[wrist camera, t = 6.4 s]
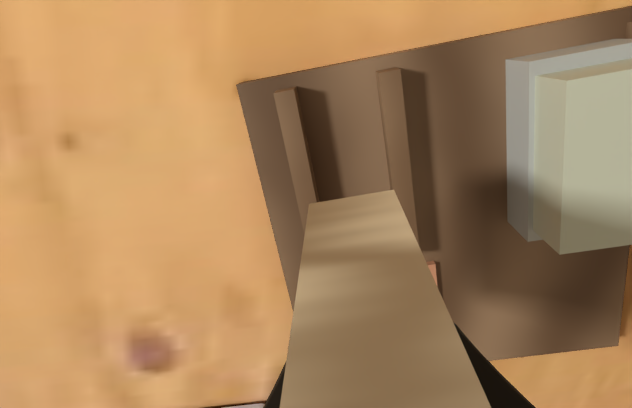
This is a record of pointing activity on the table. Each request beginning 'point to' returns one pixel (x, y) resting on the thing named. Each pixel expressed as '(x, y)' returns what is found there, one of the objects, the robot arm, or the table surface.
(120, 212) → the table surface
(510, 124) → the offcut lower
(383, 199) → the tan wooden block
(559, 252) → the offcut upper
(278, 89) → the walnut rack
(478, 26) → the table surface
